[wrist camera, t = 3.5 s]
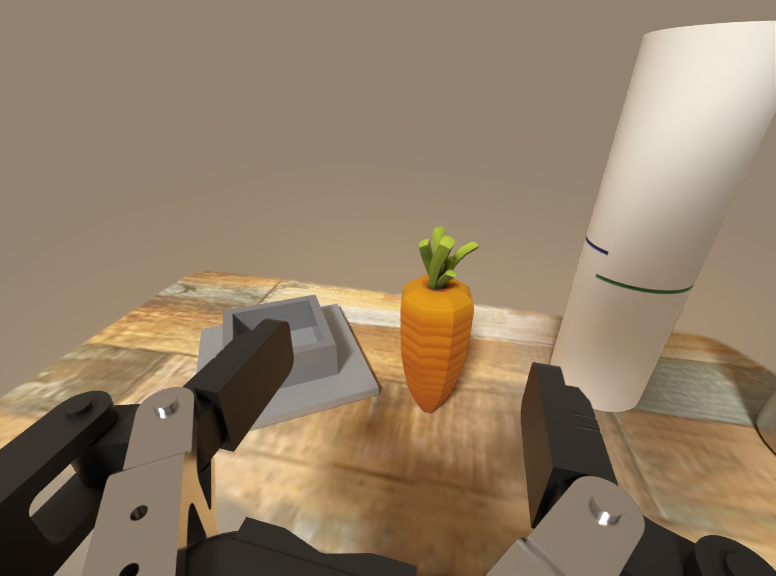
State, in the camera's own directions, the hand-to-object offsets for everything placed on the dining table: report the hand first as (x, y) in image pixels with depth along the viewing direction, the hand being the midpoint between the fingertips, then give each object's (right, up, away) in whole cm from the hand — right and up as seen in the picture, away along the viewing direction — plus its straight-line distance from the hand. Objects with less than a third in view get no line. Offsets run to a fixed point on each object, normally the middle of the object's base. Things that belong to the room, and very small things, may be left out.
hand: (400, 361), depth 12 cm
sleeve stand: (-10, -4, +22) cm, 24 cm away
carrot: (+3, -7, +17) cm, 18 cm away
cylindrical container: (+17, -6, +20) cm, 27 cm away
